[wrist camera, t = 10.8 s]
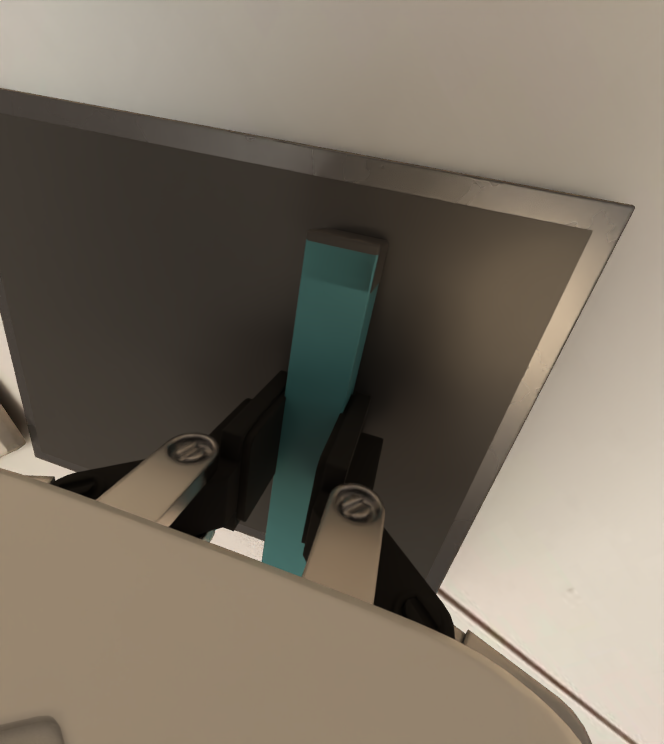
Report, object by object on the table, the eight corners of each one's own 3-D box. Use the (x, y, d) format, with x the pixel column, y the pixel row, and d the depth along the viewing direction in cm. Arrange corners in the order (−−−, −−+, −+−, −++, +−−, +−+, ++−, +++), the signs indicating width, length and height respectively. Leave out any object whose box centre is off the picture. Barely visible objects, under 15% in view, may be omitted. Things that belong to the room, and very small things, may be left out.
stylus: (325, 227, 10) (306, 228, 8) (389, 240, 10) (382, 244, 8) (276, 537, 15) (259, 574, 14) (316, 551, 15) (302, 590, 14)
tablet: (-27, 85, 12) (-62, 75, 11) (619, 206, 9) (639, 205, 8) (50, 447, 19) (32, 458, 18) (431, 584, 16) (432, 605, 15)
